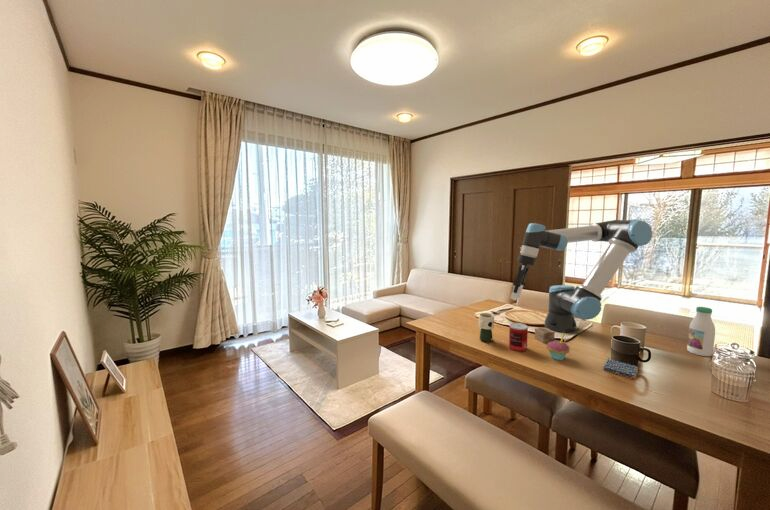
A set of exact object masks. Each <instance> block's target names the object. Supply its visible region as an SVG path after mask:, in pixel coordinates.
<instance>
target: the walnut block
mask: <svg viewBox="0 0 770 510" xmlns="http://www.w3.org/2000/svg"><path fill="white" fill-rule="evenodd" d="M534 339H536V340H537V341H539V342H541V343H542V344H548V343H549V342H551V341H555V331H554V330H551V329H548V328H547V327H540V328H537V327H536V328H534Z"/></svg>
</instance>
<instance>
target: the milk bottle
mask: <svg viewBox="0 0 770 510" xmlns="http://www.w3.org/2000/svg"><path fill="white" fill-rule="evenodd" d="M695 309H696V311H695V313H696V315H695V316H694V317H693V319H692V320H691V322H690V323H689V326H688V327H689V328H688V337H687V343H686V344H687V345H686V351H688V352H689V353H691V354H694V355H697V356H703V357H712V356H713V355H714V354H713V353H714V348H715V347H714V346H715V337H716V326H715V322H713V320H712V317H711V316H712V313H713V310H712V308H710V307H705V306H696V308H695Z"/></svg>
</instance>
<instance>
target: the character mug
mask: <svg viewBox="0 0 770 510" xmlns="http://www.w3.org/2000/svg"><path fill="white" fill-rule="evenodd" d="M494 321H495V315H494V314H492V313H490V312H480V313H479V314H478V328H479V329H480V333H479V340H481V341H483V342H492V341H494V339H493V332H492V331H493V329H494V327H495V326H494Z"/></svg>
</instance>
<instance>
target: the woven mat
mask: <svg viewBox="0 0 770 510" xmlns="http://www.w3.org/2000/svg"><path fill="white" fill-rule="evenodd" d="M638 368H639V367H638V366H637V365H634V364H630V363H626V362H621V361H619V360H615V359H613V360H612V359H610V358H608V359H607V358H606V361H605V363H604V366H603V368H602V370H603V371H604V372H607V373H610V374H611V373H612V374H615V375H618V376H622V377H626V378H629V379H633V380H635V379H637V375H638V373H639V372H638V371H639V369H638Z"/></svg>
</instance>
